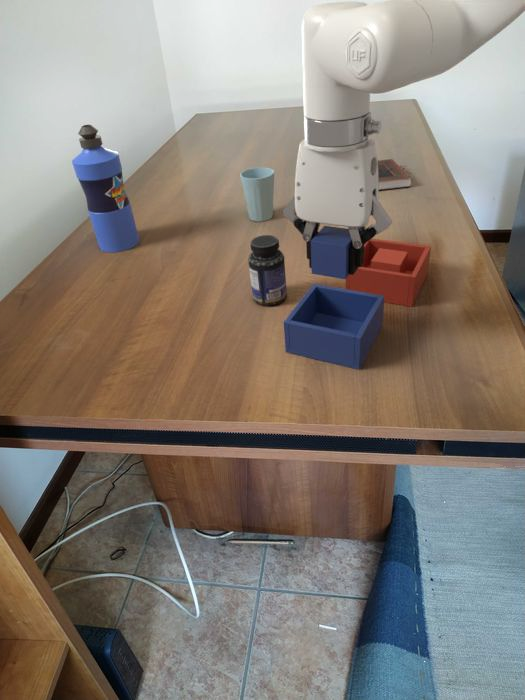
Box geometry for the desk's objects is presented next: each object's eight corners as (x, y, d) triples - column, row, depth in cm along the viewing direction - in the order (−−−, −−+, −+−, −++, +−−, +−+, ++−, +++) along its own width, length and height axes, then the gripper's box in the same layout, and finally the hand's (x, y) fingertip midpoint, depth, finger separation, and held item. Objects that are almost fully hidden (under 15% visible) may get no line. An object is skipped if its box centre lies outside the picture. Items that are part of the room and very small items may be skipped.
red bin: (427, 274, 90) (431, 245, 87) (412, 307, 82) (415, 277, 79) (365, 264, 95) (366, 237, 92) (345, 295, 87) (345, 266, 84)
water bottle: (147, 235, 115) (119, 119, 99) (125, 254, 108) (92, 132, 93) (113, 233, 118) (81, 119, 102) (90, 250, 111) (51, 132, 96)
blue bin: (382, 326, 79) (384, 295, 75) (359, 369, 71) (360, 338, 68) (314, 312, 84) (313, 283, 80) (285, 352, 76) (283, 321, 72)
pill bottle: (290, 290, 90) (287, 233, 83) (282, 308, 85) (278, 250, 79) (257, 288, 92) (252, 232, 85) (248, 305, 87) (241, 248, 80)
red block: (405, 277, 89) (407, 251, 86) (397, 290, 86) (400, 265, 83) (377, 272, 91) (379, 248, 88) (369, 286, 88) (371, 260, 85)
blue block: (357, 262, 71) (358, 229, 68) (345, 279, 67) (346, 245, 64) (324, 257, 73) (324, 225, 70) (311, 273, 69) (310, 240, 66)
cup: (283, 218, 116) (280, 173, 109) (252, 226, 114) (247, 181, 107) (269, 208, 121) (265, 165, 115) (240, 215, 119) (235, 172, 113)
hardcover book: (324, 197, 124) (410, 187, 124) (324, 187, 123) (411, 177, 123) (314, 176, 137) (391, 167, 137) (313, 166, 136) (392, 158, 136)
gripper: (416, 124, 58) (402, 264, 69) (283, 119, 65) (290, 247, 76) (400, 143, 53) (387, 290, 64) (257, 135, 59) (268, 270, 71)
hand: (334, 265), depth 70 cm, fingers closed on blue block, 5 cm apart
